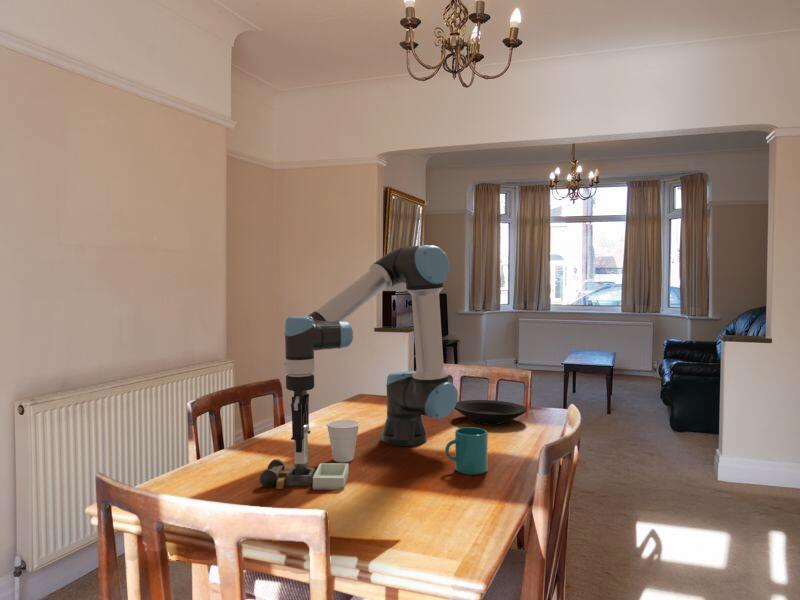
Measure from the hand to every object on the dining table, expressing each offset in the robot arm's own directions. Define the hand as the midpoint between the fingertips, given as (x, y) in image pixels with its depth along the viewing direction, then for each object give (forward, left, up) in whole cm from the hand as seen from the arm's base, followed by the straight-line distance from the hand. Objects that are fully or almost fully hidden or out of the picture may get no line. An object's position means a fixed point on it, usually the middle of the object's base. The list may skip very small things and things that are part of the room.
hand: (301, 460), depth 161 cm
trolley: (+3, +1, -5) cm, 7 cm away
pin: (0, 0, -4) cm, 4 cm away
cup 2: (-45, -10, -6) cm, 46 cm away
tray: (-8, 0, -5) cm, 10 cm away
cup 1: (-9, -19, -6) cm, 22 cm away
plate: (-59, -68, -6) cm, 90 cm away
